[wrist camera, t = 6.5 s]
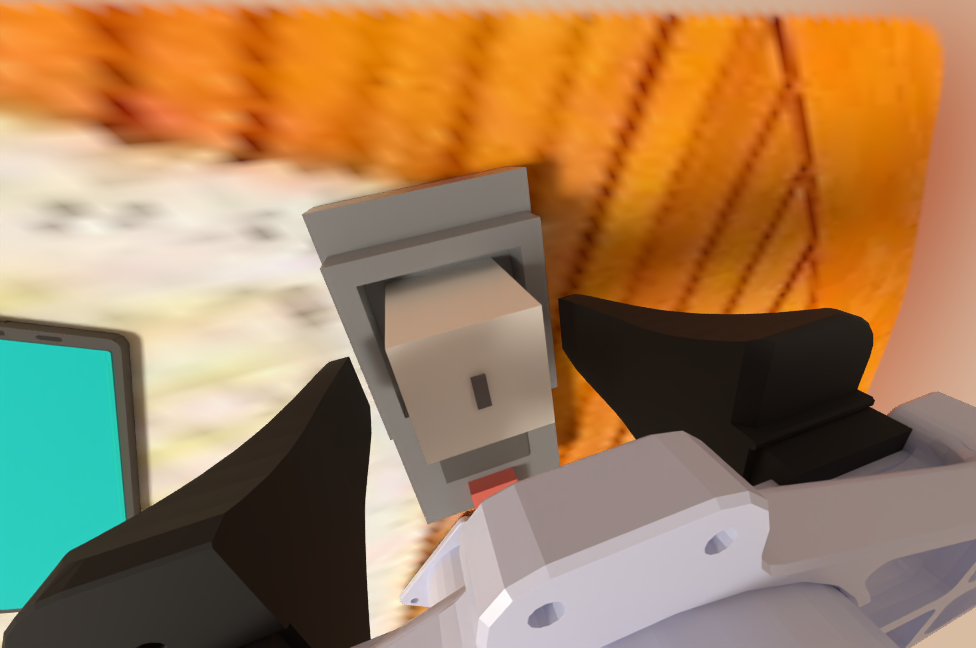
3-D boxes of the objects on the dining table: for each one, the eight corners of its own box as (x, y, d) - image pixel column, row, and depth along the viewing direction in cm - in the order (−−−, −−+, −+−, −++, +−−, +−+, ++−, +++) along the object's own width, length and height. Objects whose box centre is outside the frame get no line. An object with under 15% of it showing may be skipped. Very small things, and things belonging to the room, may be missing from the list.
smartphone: (119, 340, 13) (140, 602, 18) (134, 330, 13) (150, 584, 19) (-204, 303, 10) (-73, 620, 15) (-164, 293, 11) (-52, 598, 16)
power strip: (551, 488, 23) (577, 539, 20) (438, 529, 22) (447, 590, 19) (508, 166, 14) (542, 168, 11) (313, 207, 13) (290, 222, 10)
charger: (506, 346, 15) (557, 425, 11) (414, 373, 15) (428, 469, 10) (490, 257, 13) (544, 307, 9) (385, 283, 13) (385, 351, 8)
